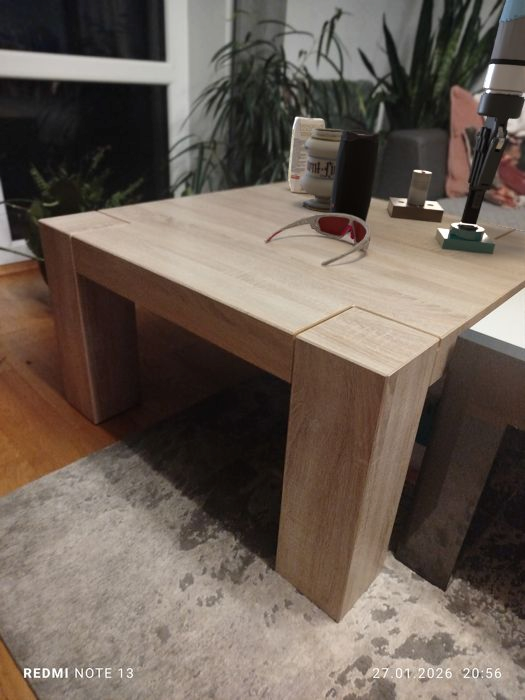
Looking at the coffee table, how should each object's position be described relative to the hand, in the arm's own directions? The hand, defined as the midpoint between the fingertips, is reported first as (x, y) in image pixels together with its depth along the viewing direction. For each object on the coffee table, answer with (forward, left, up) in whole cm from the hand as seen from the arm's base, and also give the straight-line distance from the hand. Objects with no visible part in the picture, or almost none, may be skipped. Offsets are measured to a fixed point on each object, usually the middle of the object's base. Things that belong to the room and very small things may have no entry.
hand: (468, 223), depth 102 cm
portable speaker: (+24, -6, -5) cm, 25 cm away
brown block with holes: (+7, -24, -5) cm, 25 cm away
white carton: (+36, -41, -5) cm, 55 cm away
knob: (+7, -24, -2) cm, 25 cm away
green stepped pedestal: (0, 0, -5) cm, 5 cm away
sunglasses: (+29, +12, -5) cm, 32 cm away
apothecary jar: (+30, -23, -5) cm, 38 cm away
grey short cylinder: (0, 0, -2) cm, 2 cm away
